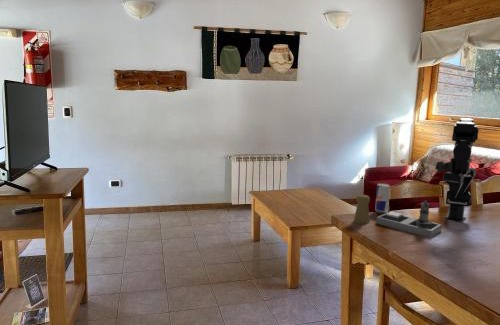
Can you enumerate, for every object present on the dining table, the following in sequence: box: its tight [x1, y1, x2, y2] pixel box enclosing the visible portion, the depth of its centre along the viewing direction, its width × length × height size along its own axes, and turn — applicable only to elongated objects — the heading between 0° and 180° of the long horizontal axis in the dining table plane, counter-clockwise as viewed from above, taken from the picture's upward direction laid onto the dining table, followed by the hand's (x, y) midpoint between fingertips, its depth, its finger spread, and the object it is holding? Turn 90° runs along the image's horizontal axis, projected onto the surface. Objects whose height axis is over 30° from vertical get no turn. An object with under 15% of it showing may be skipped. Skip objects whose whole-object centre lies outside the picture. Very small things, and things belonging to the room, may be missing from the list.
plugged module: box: [385, 211, 404, 222], centre depth 163 cm, size 5×5×4 cm
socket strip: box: [375, 211, 443, 238], centre depth 160 cm, size 10×21×3 cm, turn 46°
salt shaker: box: [415, 199, 433, 229], centre depth 155 cm, size 6×6×12 cm
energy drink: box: [374, 183, 391, 214], centre depth 179 cm, size 5×5×12 cm
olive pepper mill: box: [353, 194, 371, 225], centre depth 165 cm, size 6×6×11 cm
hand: (457, 196), depth 157 cm, fingers open, 9 cm apart
